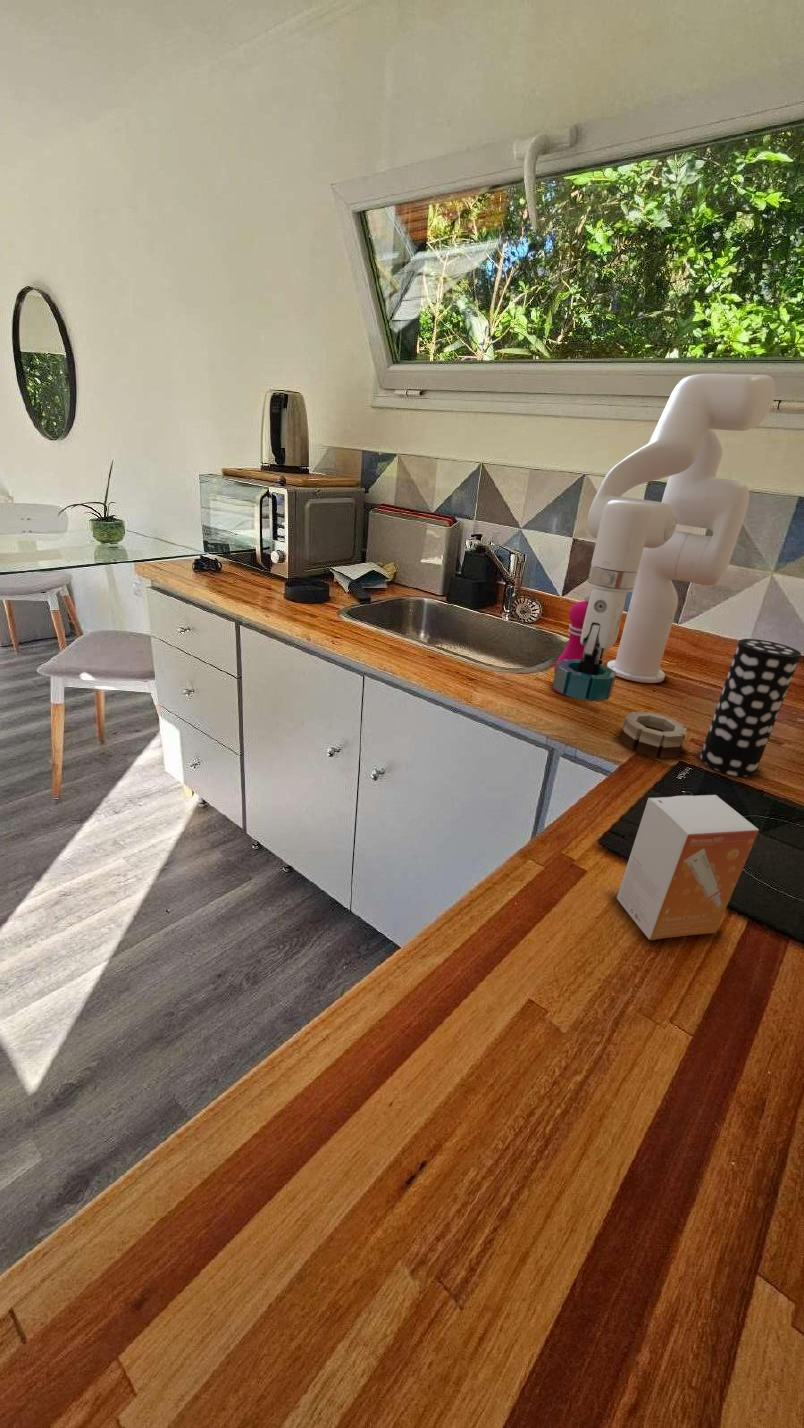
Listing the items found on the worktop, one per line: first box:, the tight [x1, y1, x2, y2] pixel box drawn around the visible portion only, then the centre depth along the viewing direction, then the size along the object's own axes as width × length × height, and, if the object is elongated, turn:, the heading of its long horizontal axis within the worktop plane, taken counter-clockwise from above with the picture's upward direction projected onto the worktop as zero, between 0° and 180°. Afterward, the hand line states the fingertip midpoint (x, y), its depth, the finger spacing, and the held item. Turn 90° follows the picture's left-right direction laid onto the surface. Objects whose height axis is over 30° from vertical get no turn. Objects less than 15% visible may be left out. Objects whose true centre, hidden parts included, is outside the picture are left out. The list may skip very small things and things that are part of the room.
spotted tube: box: [700, 638, 802, 778], centre depth 93 cm, size 8×8×20 cm
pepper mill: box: [552, 593, 591, 696], centre depth 118 cm, size 7×7×20 cm
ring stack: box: [619, 710, 688, 759], centre depth 101 cm, size 10×10×4 cm
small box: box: [616, 794, 760, 941], centre depth 60 cm, size 8×6×13 cm
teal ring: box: [552, 659, 617, 702], centre depth 103 cm, size 10×10×4 cm
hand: (587, 680), depth 107 cm, fingers closed on teal ring, 2 cm apart
